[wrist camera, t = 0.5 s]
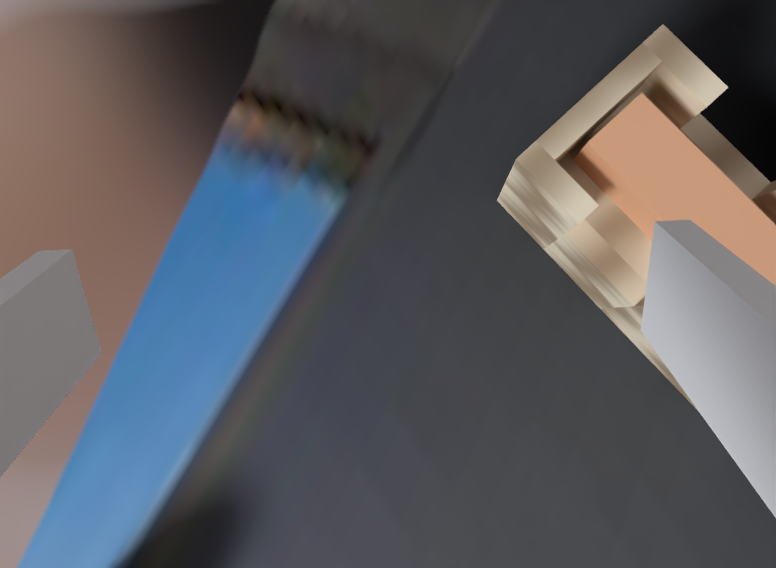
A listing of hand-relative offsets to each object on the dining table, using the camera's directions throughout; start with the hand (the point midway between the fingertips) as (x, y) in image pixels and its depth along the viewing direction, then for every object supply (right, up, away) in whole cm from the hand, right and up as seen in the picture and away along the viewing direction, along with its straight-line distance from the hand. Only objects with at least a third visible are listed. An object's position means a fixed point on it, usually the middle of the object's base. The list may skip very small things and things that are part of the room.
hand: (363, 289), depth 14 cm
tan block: (+20, +2, +23) cm, 31 cm away
